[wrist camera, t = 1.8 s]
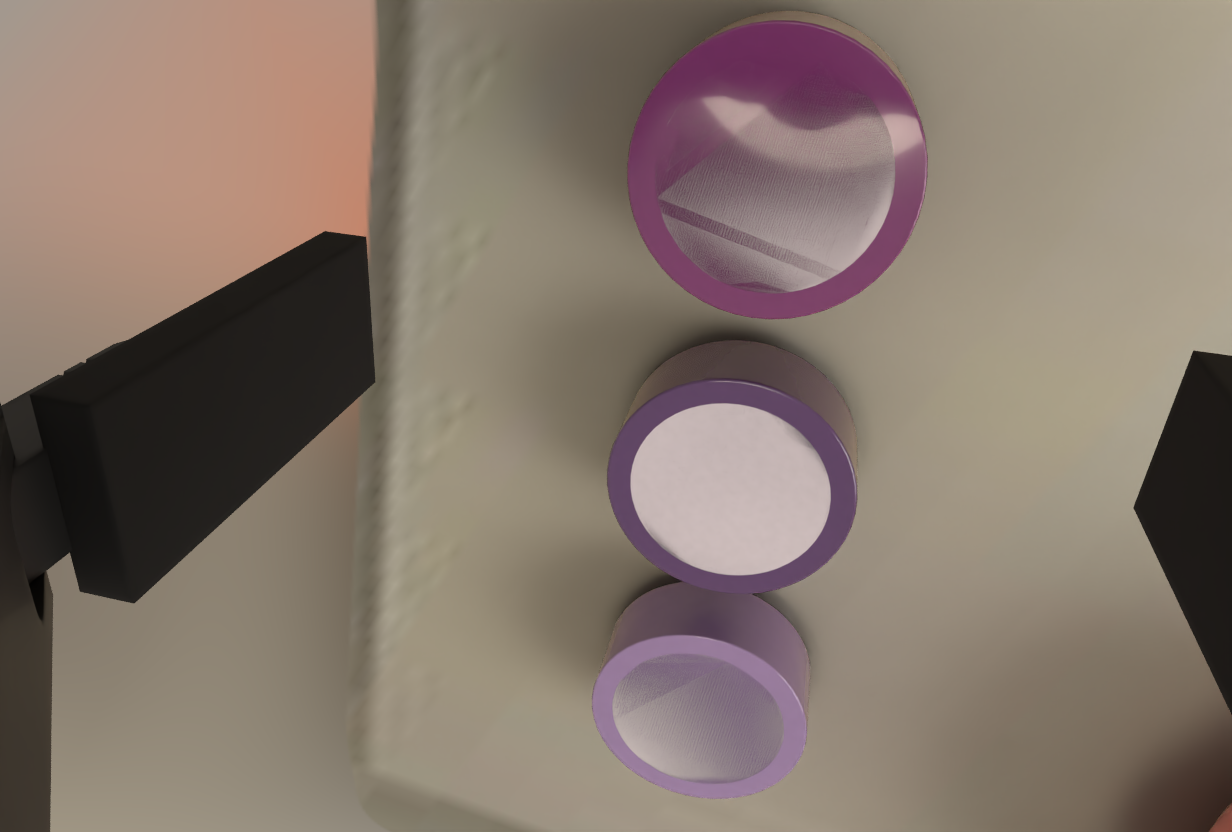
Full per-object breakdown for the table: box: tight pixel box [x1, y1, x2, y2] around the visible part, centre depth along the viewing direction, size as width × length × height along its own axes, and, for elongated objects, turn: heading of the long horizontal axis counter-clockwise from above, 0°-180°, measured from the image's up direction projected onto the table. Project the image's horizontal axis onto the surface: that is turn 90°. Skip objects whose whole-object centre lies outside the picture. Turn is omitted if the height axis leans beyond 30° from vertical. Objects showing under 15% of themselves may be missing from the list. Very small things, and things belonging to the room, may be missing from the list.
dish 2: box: [592, 582, 810, 799], centre depth 36 cm, size 8×8×4 cm
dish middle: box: [607, 340, 857, 594], centre depth 32 cm, size 8×8×4 cm
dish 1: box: [627, 11, 928, 319], centre depth 27 cm, size 8×8×4 cm
